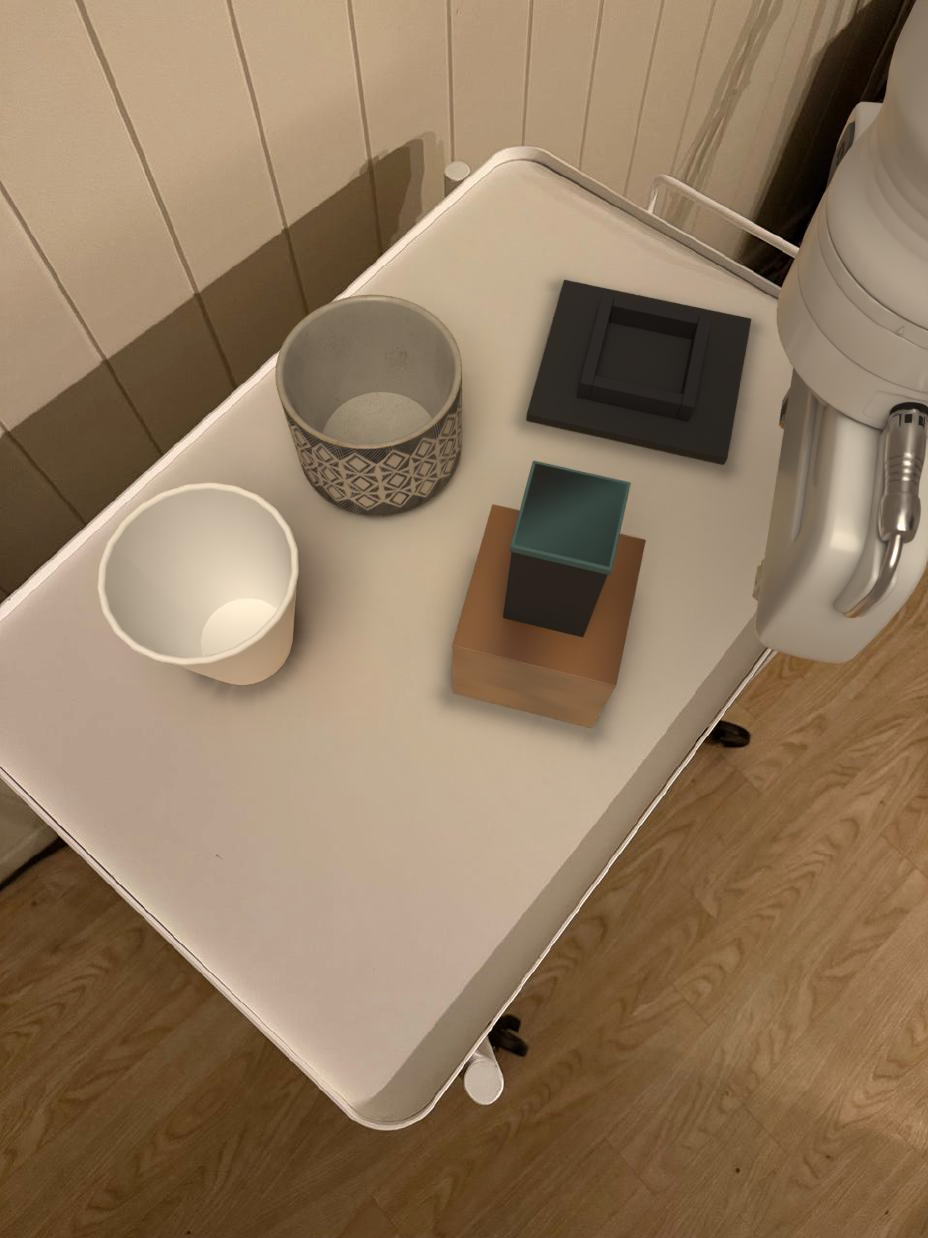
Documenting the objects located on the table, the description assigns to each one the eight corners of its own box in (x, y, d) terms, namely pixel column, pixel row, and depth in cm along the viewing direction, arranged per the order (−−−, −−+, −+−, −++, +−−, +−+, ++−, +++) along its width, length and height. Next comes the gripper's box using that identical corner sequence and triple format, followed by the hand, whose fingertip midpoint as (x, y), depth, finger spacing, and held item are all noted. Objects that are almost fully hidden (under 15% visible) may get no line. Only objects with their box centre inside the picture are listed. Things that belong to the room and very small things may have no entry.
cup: (292, 741, 60) (253, 689, 49) (135, 692, 61) (60, 630, 50) (350, 590, 64) (327, 509, 53) (202, 547, 66) (147, 459, 54)
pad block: (601, 564, 54) (631, 482, 45) (584, 639, 52) (611, 570, 43) (520, 544, 55) (533, 459, 45) (500, 619, 53) (509, 546, 44)
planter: (488, 484, 68) (494, 404, 58) (339, 548, 66) (318, 476, 56) (420, 363, 72) (414, 270, 62) (277, 420, 70) (247, 332, 60)
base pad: (748, 326, 73) (759, 301, 71) (723, 465, 68) (735, 444, 66) (562, 287, 75) (566, 261, 72) (525, 420, 70) (528, 398, 67)
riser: (618, 600, 64) (646, 539, 55) (591, 728, 61) (615, 686, 51) (487, 568, 65) (492, 503, 56) (453, 693, 61) (452, 646, 52)
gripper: (1014, 600, 25) (827, 723, 38) (1032, 101, 32) (869, 348, 45) (792, 549, 25) (682, 687, 38) (858, 71, 33) (747, 323, 45)
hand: (784, 501), depth 42 cm, fingers open, 8 cm apart
